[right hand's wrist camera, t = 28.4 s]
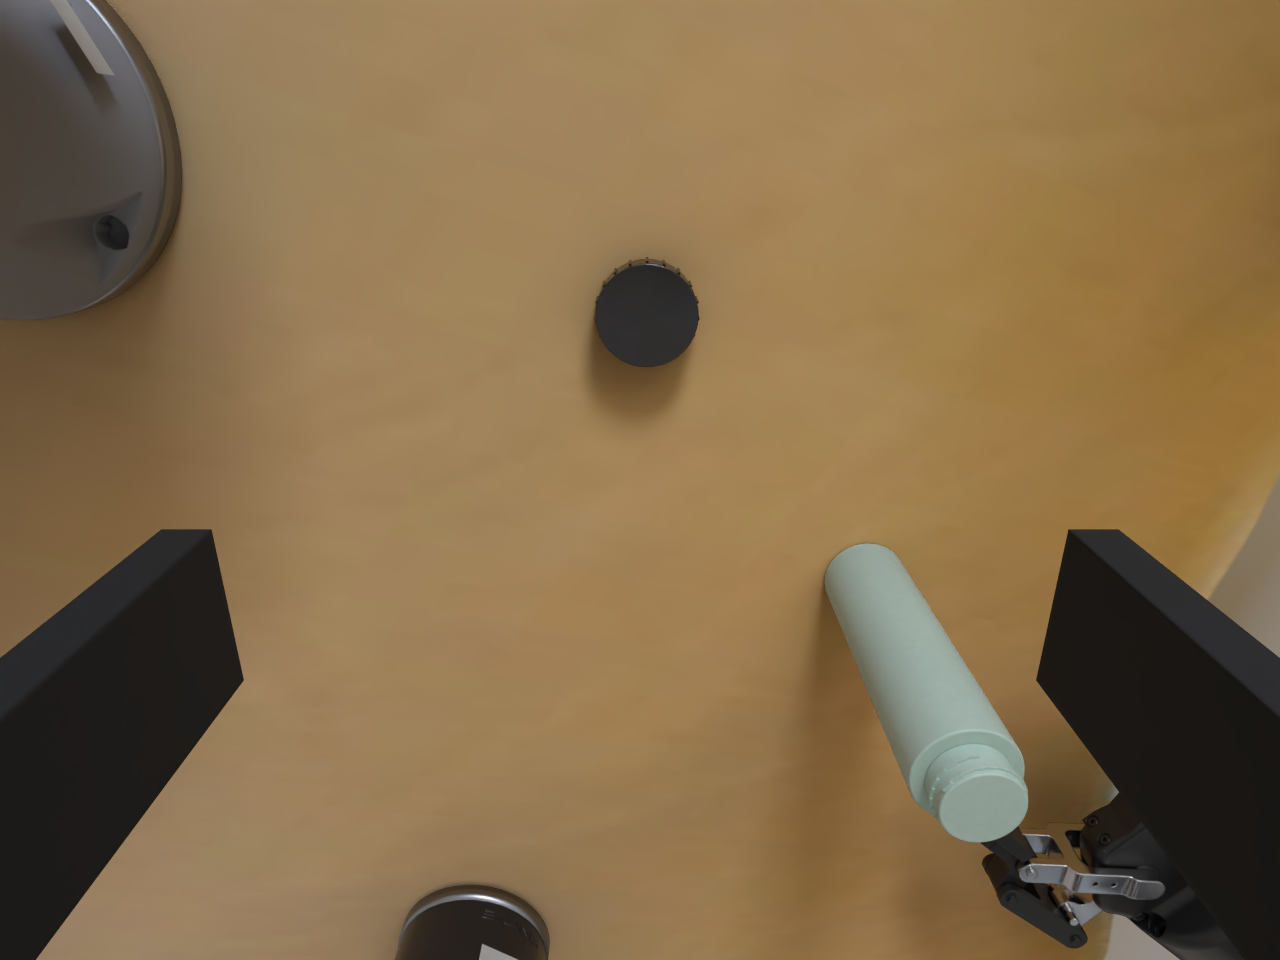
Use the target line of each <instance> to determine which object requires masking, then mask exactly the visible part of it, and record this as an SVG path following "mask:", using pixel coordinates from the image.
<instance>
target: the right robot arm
mask: <svg viewBox="0 0 1280 960" xmlns="http://www.w3.org/2000/svg"><path fill="white" fill-rule="evenodd" d="M181 178H182V174H181V154H180V146H179V139H178V134H177V129H176V125H175V120H174V117H173V114H172V110H171V107H170V104H169V101H168V98H167V96H166V93H165V91H164V88H163V86H162V83H161V81H160V79H159V77H158V75H157V73H156V71H155V69H154V67H153V65H152V63H151V61H150V59H149V58H148V56H147V54H146V53H145V51H144V49H143V47H142V46H141V44H140V43H139V41H138V40H137V38H136V37H135V36H134V34H133V33H132V31H131V30H130V28H129V27H128V26H127V25H126V23H125V22H124V21H123V20H122V18H121V17H120V16H119V15H118V14H117V12H116V11H115V10H114V9H113V8H112V7H111V6H110V5H109V4H108V3H107V2H106V1H105V0H0V320H39V319H47V318H54V317H59V316H63V315H67V314H71V313H74V312H78V311H81V310H84V309H88V308H91V307H94V306H97V305H99V304H102V303H104V302H106V301H109V300H111V299H113V298H115V297H117V296H118V295H120V294H121V293H123V292H124V291H126V290H127V289H129V288H130V287H131V286H132V285H134V284H135V283H136V282H137V281H138V280H139V279H141V278H142V276H143V275H144V274H145V273H146V272H147V271H148V270H149V269H150V268H151V266H152V265H153V264H154V262H155V261H156V260H157V258H158V257H159V255H160V254H161V252H162V250H163V248H164V246H165V244H166V243H167V241H168V238H169V236H170V233H171V231H172V228H173V225H174V222H175V218H176V215H177V211H178V205H179V200H180V193H181ZM243 681H244V679H243V674H242V670H241V665H240V660H239V656H238V651H237V646H236V642H235V637H234V632H233V628H232V623H231V618H230V614H229V609H228V604H227V600H226V595H225V590H224V586H223V581H222V576H221V572H220V567H219V562H218V558H217V553H216V548H215V544H214V539H213V534H212V530H160V531H159V532H158V533H156V534H155V535H154V536H153V537H151V538H150V539H149V540H148V541H146V542H145V543H144V544H143V545H141V546H140V547H139V548H138V549H136V550H135V551H134V552H133V553H131V554H130V555H129V556H128V557H126V558H125V559H124V560H123V561H121V562H120V563H119V564H118V565H116V566H115V567H114V568H113V569H111V570H110V571H109V572H108V573H106V574H105V575H104V576H103V577H101V578H100V579H99V580H98V581H96V582H95V583H94V584H93V585H91V586H90V587H89V588H88V589H86V590H85V591H84V592H82V593H81V594H80V595H79V596H77V597H76V598H75V599H74V600H72V601H71V602H70V603H69V604H67V605H66V606H65V607H64V608H62V609H61V610H60V611H59V612H57V613H56V614H55V615H54V616H52V617H51V618H50V619H49V620H47V621H46V622H45V623H44V624H42V625H41V626H40V627H39V628H37V629H36V630H35V631H34V632H32V633H31V634H30V635H29V636H27V637H26V638H25V639H24V640H22V641H21V642H20V643H19V644H17V645H16V646H15V647H14V648H12V649H11V650H10V651H9V652H7V653H6V654H5V655H3V656H2V657H1V658H0V960H36V959H37V957H38V956H39V955H40V953H41V952H42V951H43V949H44V948H45V947H46V945H47V944H48V943H49V941H50V940H51V938H52V937H53V936H54V934H55V933H56V932H57V930H58V929H59V928H60V926H61V925H62V924H63V922H64V921H65V920H66V918H67V917H68V916H69V914H70V913H71V912H72V910H73V909H74V908H75V906H76V905H77V904H78V902H79V901H80V900H81V898H82V897H83V896H84V894H85V893H86V891H87V890H88V889H89V887H90V886H91V885H92V883H93V882H94V881H95V879H96V878H97V877H98V875H99V874H100V873H101V871H102V870H103V869H104V867H105V866H106V865H107V863H108V862H109V861H110V859H111V858H112V857H113V855H114V854H115V853H116V851H117V850H118V848H119V847H120V846H121V844H122V843H123V842H124V840H125V839H126V838H127V836H128V835H129V834H130V832H131V831H132V830H133V828H134V827H135V826H136V824H137V823H138V822H139V820H140V819H141V818H142V816H143V815H144V814H145V812H146V811H147V810H148V808H149V807H150V805H151V804H152V803H153V801H154V800H155V799H156V797H157V796H158V795H159V793H160V792H161V791H162V789H163V788H164V787H165V785H166V784H167V783H168V781H169V780H170V779H171V777H172V776H173V775H174V773H175V772H176V771H177V769H178V768H179V767H180V765H181V764H182V762H183V761H184V760H185V758H186V757H187V756H188V754H189V753H190V752H191V750H192V749H193V748H194V746H195V745H196V744H197V742H198V741H199V740H200V738H201V737H202V736H203V734H204V733H205V732H206V730H207V729H208V728H209V726H210V725H211V724H212V722H213V721H214V720H215V718H216V717H217V715H218V714H219V713H220V711H221V710H222V709H223V707H224V706H225V705H226V703H227V702H228V701H229V699H230V698H231V697H232V695H233V694H234V693H235V691H236V690H237V689H238V687H239V686H240V685H241V683H242V682H243ZM1036 681H1037V682H1038V683H1039V685H1040V686H1041V687H1042V689H1043V690H1044V691H1045V693H1046V694H1047V695H1048V697H1049V698H1050V699H1051V701H1052V702H1053V703H1054V705H1055V706H1056V707H1057V709H1058V710H1059V711H1060V713H1061V714H1062V715H1063V717H1064V718H1065V720H1066V721H1067V722H1068V724H1069V725H1070V726H1071V728H1072V729H1073V730H1074V732H1075V733H1076V734H1077V736H1078V737H1079V738H1080V740H1081V741H1082V742H1083V744H1084V745H1085V746H1086V748H1087V749H1088V750H1089V752H1090V753H1091V754H1092V756H1093V757H1094V758H1095V760H1096V761H1097V763H1098V764H1099V765H1100V767H1101V768H1102V769H1103V771H1104V772H1105V773H1106V775H1107V776H1108V777H1109V779H1110V780H1111V781H1112V783H1113V784H1114V785H1115V787H1116V788H1117V789H1118V791H1119V792H1120V793H1121V795H1122V796H1123V797H1124V799H1125V800H1126V801H1127V803H1128V804H1129V805H1130V807H1131V808H1132V810H1133V811H1134V812H1135V814H1136V815H1137V816H1138V818H1139V819H1140V820H1141V822H1142V823H1143V824H1144V826H1145V827H1146V828H1147V830H1148V831H1149V832H1150V834H1151V835H1152V836H1153V838H1154V839H1155V840H1156V842H1157V843H1158V844H1159V846H1160V847H1161V848H1162V850H1163V851H1164V853H1165V854H1166V855H1167V857H1168V858H1169V859H1170V861H1171V862H1172V863H1173V865H1174V866H1175V867H1176V869H1177V870H1178V871H1179V873H1180V874H1181V875H1182V877H1183V878H1184V879H1185V881H1186V882H1187V883H1188V885H1189V886H1190V887H1191V889H1192V890H1193V891H1194V893H1195V894H1196V896H1197V897H1198V898H1199V900H1200V901H1201V902H1202V904H1203V905H1204V906H1205V908H1206V909H1207V910H1208V912H1209V913H1210V914H1211V916H1212V917H1213V918H1214V920H1215V921H1216V922H1217V924H1218V925H1219V926H1220V928H1221V929H1222V930H1223V932H1224V933H1225V934H1226V936H1227V937H1228V938H1229V940H1230V941H1231V943H1232V944H1233V945H1234V947H1235V948H1236V949H1237V951H1238V952H1239V953H1240V955H1241V956H1242V957H1243V959H1244V960H1280V658H1279V657H1278V656H1277V655H1275V654H1274V653H1273V652H1271V651H1270V650H1269V649H1268V648H1266V647H1265V646H1264V645H1263V644H1261V643H1260V642H1259V641H1258V640H1256V639H1255V638H1254V637H1253V636H1251V635H1250V634H1249V633H1248V632H1246V631H1245V630H1244V629H1243V628H1241V627H1240V626H1239V625H1238V624H1236V623H1235V622H1234V621H1233V620H1231V619H1230V618H1229V617H1228V616H1226V615H1225V614H1224V613H1223V612H1221V611H1220V610H1219V609H1218V608H1216V607H1215V606H1214V605H1213V604H1211V603H1210V602H1209V601H1208V600H1206V599H1205V598H1204V597H1203V596H1201V595H1200V594H1199V593H1198V592H1196V591H1195V590H1194V589H1192V588H1191V587H1190V586H1189V585H1187V584H1186V583H1185V582H1184V581H1182V580H1181V579H1180V578H1179V577H1177V576H1176V575H1175V574H1174V573H1172V572H1171V571H1170V570H1169V569H1167V568H1166V567H1165V566H1164V565H1162V564H1161V563H1160V562H1159V561H1157V560H1156V559H1155V558H1154V557H1152V556H1151V555H1150V554H1149V553H1147V552H1146V551H1145V550H1144V549H1142V548H1141V547H1140V546H1139V545H1137V544H1136V543H1135V542H1134V541H1132V540H1131V539H1130V538H1129V537H1127V536H1126V535H1125V534H1124V533H1122V532H1121V531H1120V530H1068V534H1067V539H1066V544H1065V548H1064V553H1063V558H1062V562H1061V567H1060V572H1059V576H1058V581H1057V586H1056V590H1055V595H1054V600H1053V604H1052V609H1051V614H1050V618H1049V623H1048V628H1047V632H1046V637H1045V642H1044V646H1043V651H1042V656H1041V660H1040V665H1039V670H1038V674H1037V679H1036Z"/></svg>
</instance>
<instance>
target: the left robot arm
mask: <svg viewBox="0 0 1280 960" xmlns="http://www.w3.org/2000/svg"><path fill="white" fill-rule="evenodd" d="M1082 821H1083V822H1084V824H1076V823H1053V822H1050V823H1048V824H1047V825H1046V828H1045V829H1031V828H1019V827H1018V826H1017V827H1016V828H1015V829H1014V830H1013V831H1012V832H1010V833H1009V834H1007V835H1005V836H1003V837H1001V838H999V839H996V840H993V841H988V842H981V844H983V845H984V846H985V847H987V848H988V849H989V850H991V851H992V852H993V853H992V854H989V855H987V856H986V857H985V858H984V859H983V861H982V865H983V867H984V869H985V872H986V873H987V874H988V876H989V878H990V880H991V882H992V884H993V886H994V889H995V891H996V893H997V897H998V899H999V901H1000V903H1001V905H1002V906H1003V907H1005V908H1007V909H1008V910H1010V911H1011V912H1013V913H1015V914H1016V915H1018V916H1019V917H1021V918H1022V919H1024V920H1026V921H1027V922H1029V923H1030V924H1032V925H1034V926H1035V927H1037V928H1038V929H1040V930H1041V931H1043V932H1045V933H1046V934H1048V935H1049V936H1051V937H1053V938H1054V939H1056V940H1057V941H1059V942H1060V943H1062V944H1064V945H1065V946H1067V947H1069V948H1079V947H1081V946H1083V945H1084V944H1085V943H1086V942H1087V939H1088V938H1087V935H1086V933H1085V932H1084V930H1083V928H1082V926H1083V925H1084V924H1086V923H1087V922H1088V921H1090V920H1091V919H1092V918H1094V917H1095V916H1096V915H1097V914H1099V913H1100V912H1101V911H1105V912H1108V913H1111V914H1118V915H1122V916H1125V917H1127V918H1128V919H1130V920H1131V921H1132V922H1133V923H1134V924H1135V925H1136V926H1138V927H1139V928H1140V929H1141V930H1142V931H1144V932H1145V933H1146V934H1147V935H1149V936H1150V937H1151V938H1153V939H1154V940H1155V941H1157V942H1158V943H1159V944H1161V945H1162V946H1163V947H1165V948H1166V949H1167V950H1168V951H1170V952H1171V953H1172V954H1174V955H1175V956H1176V957H1178V958H1179V959H1180V960H1244V959H1243V957H1242V956H1241V955H1240V953H1239V952H1238V951H1237V949H1236V948H1235V947H1234V945H1233V944H1232V943H1231V941H1230V940H1229V938H1228V937H1227V936H1226V934H1225V933H1224V932H1223V930H1222V929H1221V928H1220V926H1219V925H1218V924H1217V922H1216V921H1215V920H1214V918H1213V917H1212V916H1211V914H1210V913H1209V912H1208V910H1207V909H1206V908H1205V906H1204V905H1203V904H1202V902H1201V901H1200V900H1199V898H1198V897H1197V896H1196V894H1195V893H1194V891H1193V890H1192V889H1191V887H1190V886H1189V885H1188V883H1187V882H1186V881H1185V879H1184V878H1183V877H1182V875H1181V874H1180V873H1179V871H1178V870H1177V869H1176V867H1175V866H1174V865H1173V863H1172V862H1171V861H1170V859H1169V858H1168V857H1167V855H1166V854H1165V853H1164V851H1163V850H1162V848H1161V847H1160V846H1159V844H1158V843H1157V842H1156V840H1155V839H1154V838H1153V836H1152V835H1151V834H1150V832H1149V831H1148V830H1147V828H1146V827H1145V826H1144V824H1143V823H1142V822H1141V820H1140V819H1139V818H1138V816H1137V815H1136V814H1135V812H1134V811H1133V810H1132V808H1131V807H1130V805H1129V804H1128V803H1127V801H1126V800H1125V799H1124V797H1123V796H1122V795H1121V793H1118V795H1117V796H1116V797H1115V798H1114V799H1113V800H1112V801H1111V803H1110V804H1108V805H1107V806H1104V807H1102V808H1100V809H1098V810H1096V811H1094V812H1092V813H1091V814H1090V815H1088V816H1087V817H1086V818H1084V819H1083V820H1082ZM1073 848H1080V854H1081V860H1080V859H1079V857H1078V856H1077V854H1076V852H1075V851H1074V849H1073ZM1035 853H1043V854H1045V855H1047V856H1048V857H1049V858H1038V857H1037V856H1036V854H1035ZM1045 883H1050V884H1049V885H1047V884H1045ZM1059 884H1061V885H1063V886H1065V887H1066V888H1067V889H1066V888H1060V886H1059ZM1068 889H1069V890H1068ZM549 942H550V940H549V933H548V929H547V927H546V924H545V923H544V921H543V919H542V918H541V916H540V915H539V914H538V912H537V911H536V910H535V909H534V908H533V907H532V906H530V905H529V904H528V903H527V902H525V901H524V900H522V899H521V898H519V897H517V896H515V895H513V894H511V893H509V892H506V891H503V890H500V889H496V888H492V887H487V886H479V885H463V886H455V887H449V888H445V889H442V890H439V891H436V892H434V893H432V894H430V895H428V896H426V897H425V898H423V899H422V900H421V901H419V902H418V903H417V904H416V905H415V906H414V907H413V908H412V909H411V911H410V912H409V914H408V916H407V917H406V920H405V922H404V925H403V929H402V932H401V935H400V939H399V946H398V951H397V954H396V958H395V960H548V953H549Z"/></svg>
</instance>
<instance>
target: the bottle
mask: <svg viewBox="0 0 1280 960" xmlns="http://www.w3.org/2000/svg"><path fill="white" fill-rule="evenodd" d="M824 584H825V590H826V593H827V595H828V598H829V600H830V602H831V605H832V607H833V610H834V612H835V614H836V617H837V619H838V622H839V624H840V626H841V629H842V631H843V634H844V636H845V638H846V641H847V643H848V645H849V648H850V650H851V653H852V655H853V657H854V660H855V662H856V665H857V667H858V669H859V672H860V674H861V676H862V679H863V681H864V684H865V686H866V688H867V691H868V693H869V696H870V698H871V700H872V703H873V705H874V708H875V710H876V712H877V715H878V717H879V719H880V722H881V724H882V727H883V729H884V731H885V734H886V736H887V739H888V741H889V743H890V746H891V748H892V750H893V753H894V755H895V758H896V760H897V762H898V765H899V767H900V770H901V772H902V774H903V777H904V779H905V781H906V784H907V786H908V789H909V791H910V793H911V796H912V797H913V799H914V801H915V802H916V803H917V804H918V805H919V806H920V807H921V808H922V809H923V810H924V811H926V812H928V813H929V814H931V815H933V816H934V817H935V818H936V819H937V820H938V821H939V822H940V823H941V825H942V827H943V828H944V829H945V830H946V831H947V832H948V833H949V834H950V835H952V836H953V837H955V838H957V839H959V840H962V841H966V842H973V843H981V842H988V841H993V840H996V839H999V838H1001V837H1003V836H1005V835H1007V834H1009V833H1010V832H1012V831H1013V830H1014V829H1015V828H1016V827H1017V826H1018V825H1019V824H1020V823H1021V822H1022V820H1023V819H1024V817H1025V815H1026V813H1027V809H1028V789H1027V787H1026V785H1025V782H1024V780H1023V777H1024V769H1025V765H1024V759H1023V756H1022V753H1021V752H1020V750H1019V748H1018V746H1017V745H1016V743H1015V742H1014V740H1013V738H1012V737H1011V735H1010V734H1009V732H1008V730H1007V729H1006V727H1005V726H1004V724H1003V723H1002V721H1001V719H1000V718H999V716H998V715H997V713H996V711H995V710H994V708H993V707H992V705H991V704H990V702H989V700H988V699H987V697H986V696H985V694H984V692H983V691H982V689H981V688H980V686H979V685H978V683H977V681H976V680H975V678H974V677H973V675H972V673H971V672H970V670H969V669H968V667H967V665H966V664H965V662H964V661H963V659H962V658H961V656H960V654H959V653H958V651H957V650H956V648H955V646H954V645H953V643H952V642H951V640H950V639H949V637H948V635H947V634H946V632H945V631H944V629H943V627H942V626H941V624H940V623H939V621H938V620H937V618H936V616H935V615H934V613H933V612H932V610H931V608H930V607H929V605H928V604H927V602H926V600H925V599H924V597H923V596H922V594H921V593H920V591H919V589H918V588H917V586H916V585H915V583H914V581H913V580H912V578H911V577H910V575H909V574H908V572H907V570H906V569H905V567H904V566H903V564H902V562H901V561H900V559H899V558H898V557H897V555H896V554H895V553H894V552H892V551H891V550H890V549H888V548H886V547H884V546H881V545H877V544H870V543H868V544H858V545H854V546H852V547H849V548H847V549H845V550H843V551H842V552H840V553H839V554H838V555H837V556H836V557H835V558H834V559H833V560H832V562H831V563H830V565H829V566H828V568H827V571H826V574H825V580H824Z"/></svg>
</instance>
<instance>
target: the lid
mask: <svg viewBox="0 0 1280 960" xmlns="http://www.w3.org/2000/svg"><path fill="white" fill-rule="evenodd" d="M691 287H692V284H691V282H690V281H687V279H686V278H685V277H684V275H683V274H682V273H681V272H680V269H679V268H677V269H676V268H674V267H673V266H671V265H669V264H667V263H665V260H663V261H659V260H654V259H648V257H646V259H640V260H635V261H631V260H629V263H627V264H625V265H622V266H621V267H619V268H618V269H616V268H615V269H614V272H613V273H612V274H611V275H610V276H609V277H608V279H607V280H606V281H603V284H602V289H601V292H600V295H599V296H597V299H596V302H595V303H597V307H596V314H595V320H596V325H597V329H598V332H599V337H601V339H602V341H603V343H604V344H605V346H606V347H607V348H608V350H609V351H610V352H611V353H612V354H613V355H615V356H616V357H617V358H619V359H620V360H622V361H624V362H626V363H628V364H631V365H635V366H640V367H654V366H659V365H662V364H666V363H668V362H670V361H672V360H673V359H675V358H677V357H678V356H679V355H680V354H682V353H683V352H684V351H685V350H686V348H687V347H688V346H689V344H690V343H691V341H692V339H693V337H694V336H695V332H696V329H697V325H698V320H699V315H698V305H697V303H699V302H698V299H697V296H695V295H694V292H693V290H692V288H691Z"/></svg>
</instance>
